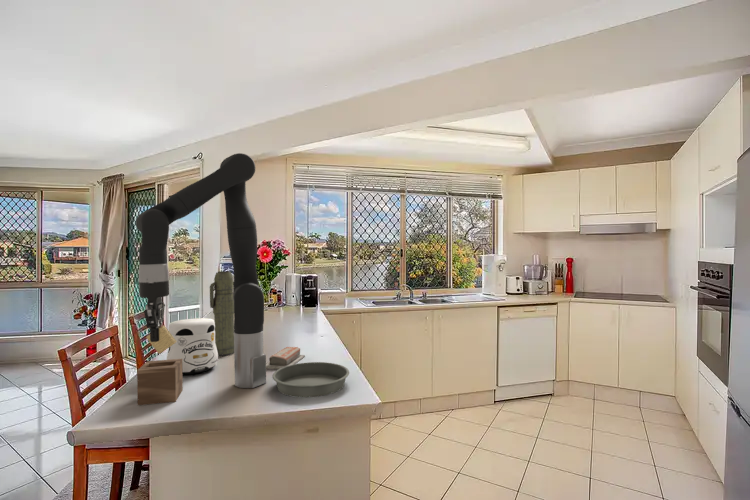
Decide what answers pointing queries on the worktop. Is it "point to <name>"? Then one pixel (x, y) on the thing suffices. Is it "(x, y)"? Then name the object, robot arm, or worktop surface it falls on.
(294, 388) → the cake pan
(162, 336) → the token
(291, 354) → the packaged product
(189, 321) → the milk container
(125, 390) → the worktop surface
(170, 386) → the brown wooden box
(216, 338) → the thermos
